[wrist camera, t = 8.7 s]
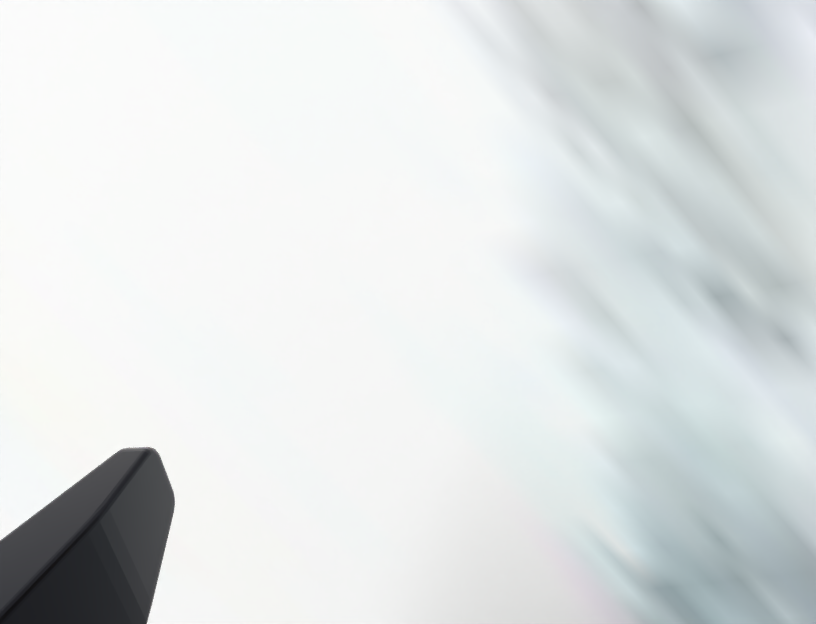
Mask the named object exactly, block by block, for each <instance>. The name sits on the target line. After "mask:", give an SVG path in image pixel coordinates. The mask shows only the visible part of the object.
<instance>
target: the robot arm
mask: <svg viewBox="0 0 816 624" xmlns="http://www.w3.org/2000/svg"><path fill="white" fill-rule="evenodd" d="M174 506H175V498H174V493H173V489H172V487H171V484H170V481H169V479H168V476H167V473H166V471H165V468H164V466H163V463H162V460H161V458H160V455H159V454H158V452H157V451H156V450H155V449H154V448H150V447H139V448H125V449H121V450H120V451H118V452H117V453H115V454H114V455H113V456H111V457H110V458H109V459H107V460H106V461H105V462H103V463H102V464H101V465H99V466H98V467H97V468H95V469H94V470H93V471H91V472H90V473H89V474H87V475H86V476H85V477H84V478H82V479H81V480H80V481H78V482H77V483H76V484H74V485H73V486H72V487H70V488H69V489H68V490H66V491H65V492H64V493H62V494H61V495H60V496H58V497H57V498H56V499H55V500H53V501H52V502H51V503H49V504H48V505H47V506H45V507H44V508H43V509H41V510H40V511H39V512H37V513H36V514H35V515H33V516H32V517H31V518H29V519H28V520H27V521H26V522H24V523H23V524H22V525H20V526H19V527H18V528H16V529H15V530H14V531H12V532H11V533H10V534H8V535H7V536H6V537H4V538H3V539H2V540H0V624H147V621H148V617H149V613H150V609H151V606H152V602H153V598H154V593H155V589H156V585H157V581H158V576H159V572H160V568H161V564H162V559H163V555H164V551H165V547H166V543H167V538H168V534H169V530H170V526H171V521H172V517H173V513H174Z"/></svg>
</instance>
